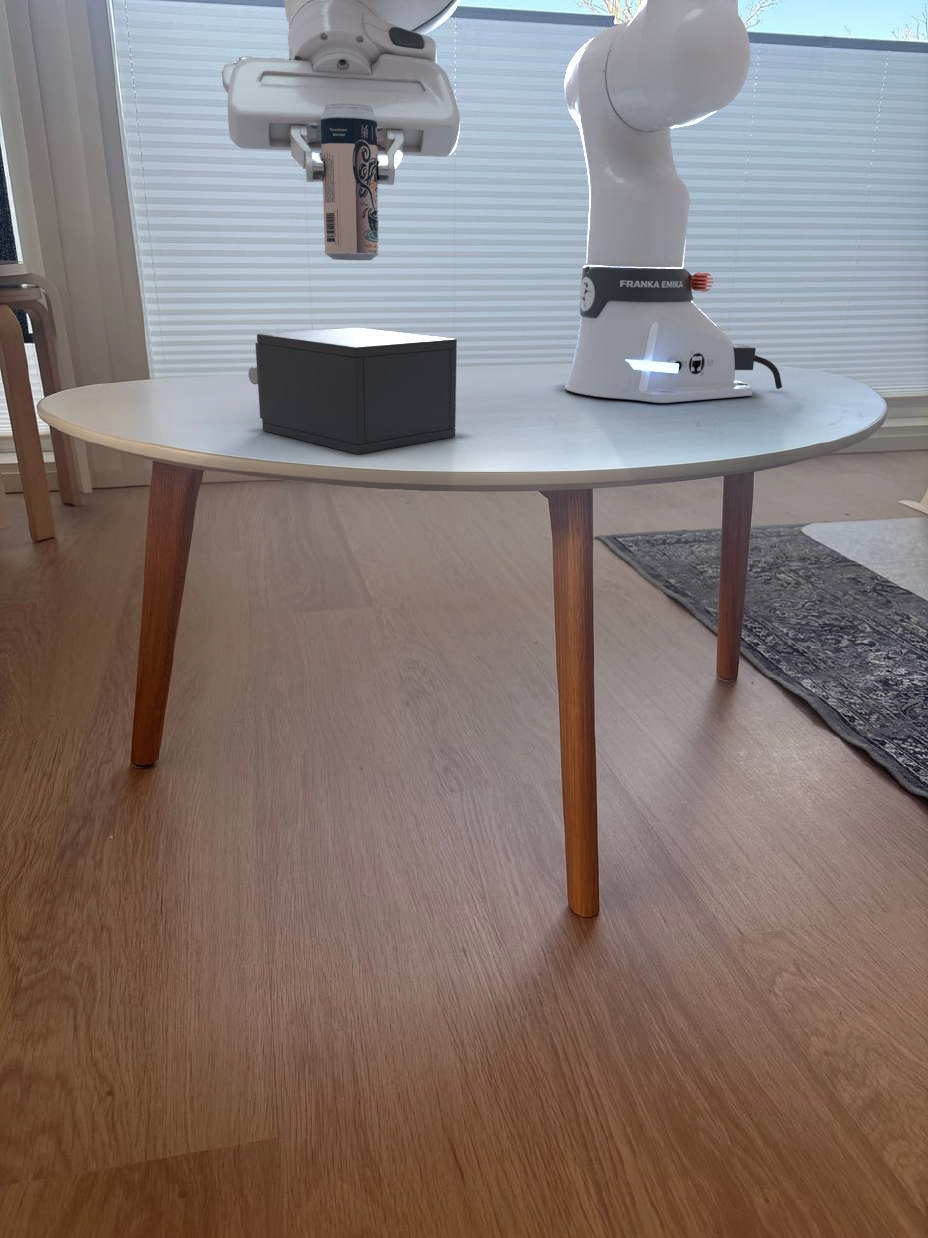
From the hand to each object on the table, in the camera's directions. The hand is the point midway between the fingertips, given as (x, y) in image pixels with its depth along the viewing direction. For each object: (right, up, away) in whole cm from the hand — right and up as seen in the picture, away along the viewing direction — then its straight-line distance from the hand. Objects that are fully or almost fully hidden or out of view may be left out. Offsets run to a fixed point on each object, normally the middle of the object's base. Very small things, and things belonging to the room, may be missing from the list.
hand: (351, 177), depth 80 cm
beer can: (0, -6, +3) cm, 7 cm away
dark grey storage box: (0, -21, +6) cm, 22 cm away
